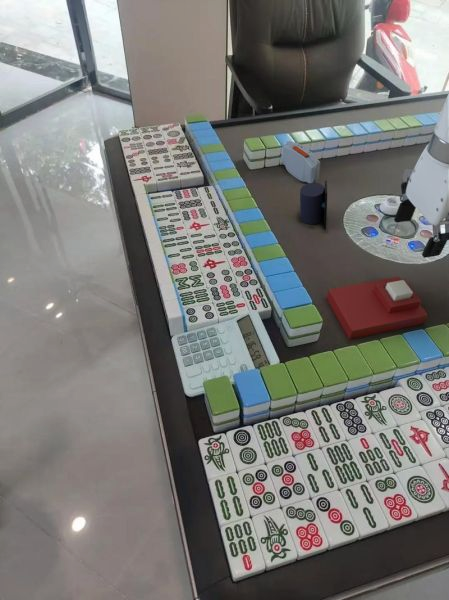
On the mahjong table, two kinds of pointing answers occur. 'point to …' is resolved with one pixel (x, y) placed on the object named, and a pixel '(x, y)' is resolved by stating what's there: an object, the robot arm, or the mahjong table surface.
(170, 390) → the mahjong table surface
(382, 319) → the red rectangular stepped block
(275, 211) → the mahjong table surface
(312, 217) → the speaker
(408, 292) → the white square block
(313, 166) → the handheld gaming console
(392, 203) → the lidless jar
